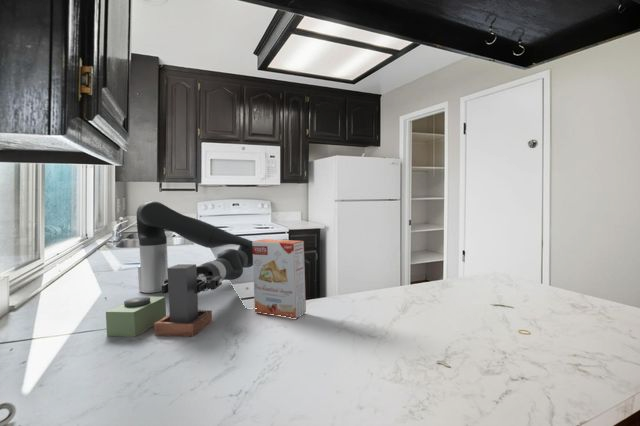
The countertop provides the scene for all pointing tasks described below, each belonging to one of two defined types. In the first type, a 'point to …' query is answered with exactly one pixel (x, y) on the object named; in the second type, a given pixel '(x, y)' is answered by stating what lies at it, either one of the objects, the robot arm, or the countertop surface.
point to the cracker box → (279, 277)
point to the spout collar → (183, 325)
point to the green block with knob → (135, 316)
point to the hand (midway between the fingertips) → (179, 289)
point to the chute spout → (182, 293)
